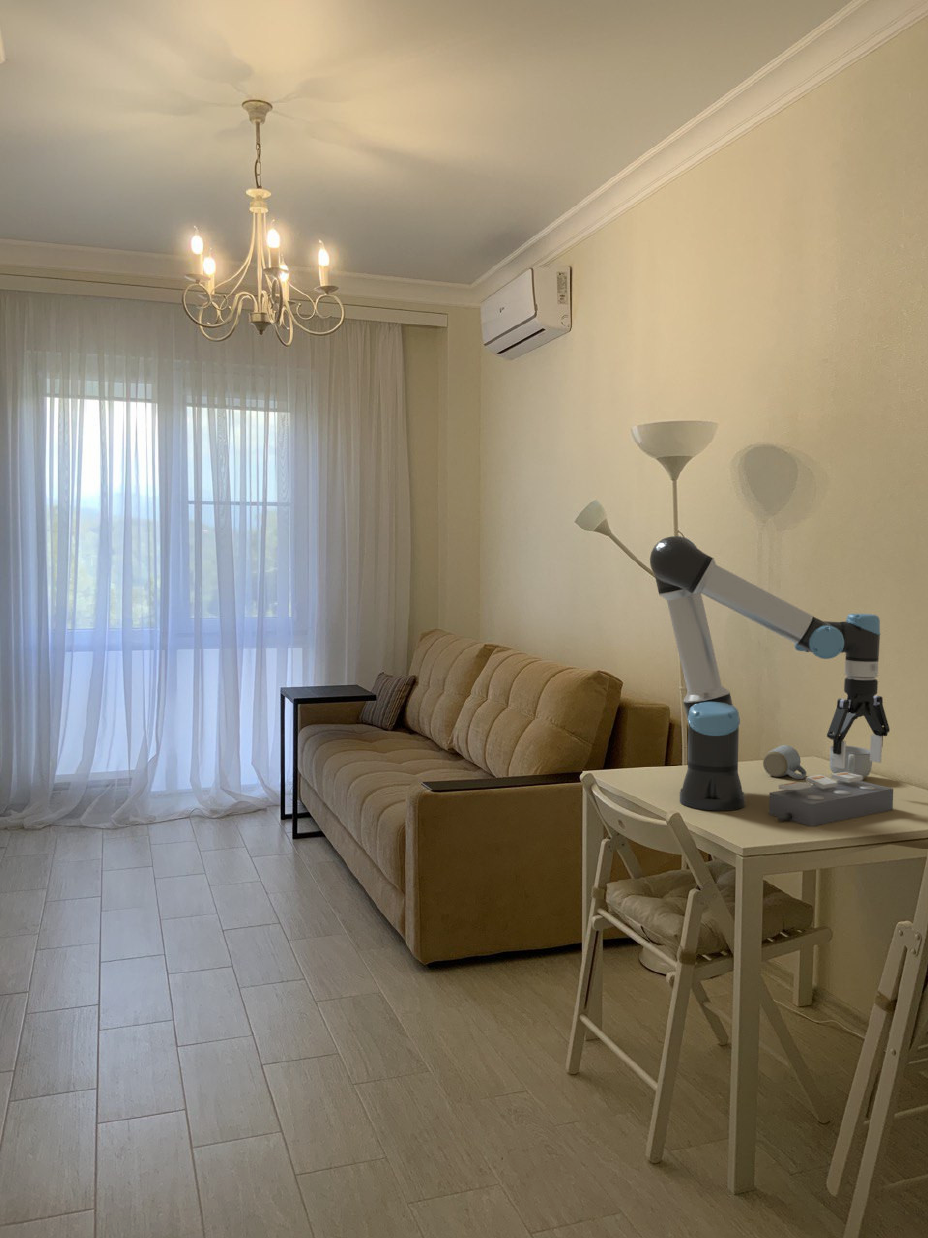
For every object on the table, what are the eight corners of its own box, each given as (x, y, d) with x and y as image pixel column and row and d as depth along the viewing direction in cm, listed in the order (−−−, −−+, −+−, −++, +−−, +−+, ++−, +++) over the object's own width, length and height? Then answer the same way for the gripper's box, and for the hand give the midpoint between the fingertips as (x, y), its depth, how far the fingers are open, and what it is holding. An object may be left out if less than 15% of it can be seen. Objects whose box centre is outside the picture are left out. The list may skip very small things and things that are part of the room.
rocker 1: (796, 791, 231) (795, 785, 231) (779, 790, 235) (778, 784, 235) (811, 788, 233) (810, 782, 233) (794, 788, 237) (793, 781, 237)
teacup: (833, 771, 279) (834, 742, 278) (875, 776, 273) (876, 747, 273) (822, 781, 267) (823, 751, 266) (866, 787, 261) (867, 756, 261)
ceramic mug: (760, 775, 274) (761, 747, 273) (773, 770, 280) (774, 743, 279) (798, 782, 267) (799, 753, 266) (811, 777, 273) (812, 748, 272)
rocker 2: (822, 790, 235) (823, 784, 235) (805, 782, 240) (806, 776, 239) (836, 787, 238) (837, 781, 238) (819, 779, 242) (820, 774, 242)
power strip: (799, 828, 222) (800, 805, 222) (757, 816, 232) (758, 793, 232) (892, 809, 239) (893, 787, 238) (849, 798, 249) (850, 777, 249)
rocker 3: (848, 784, 240) (849, 778, 240) (831, 779, 244) (831, 773, 244) (862, 781, 243) (862, 775, 242) (845, 777, 247) (845, 771, 247)
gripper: (839, 682, 238) (836, 772, 239) (907, 676, 250) (903, 762, 252) (813, 678, 244) (810, 766, 245) (880, 673, 257) (877, 756, 258)
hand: (857, 764), depth 249 cm, fingers open, 13 cm apart
